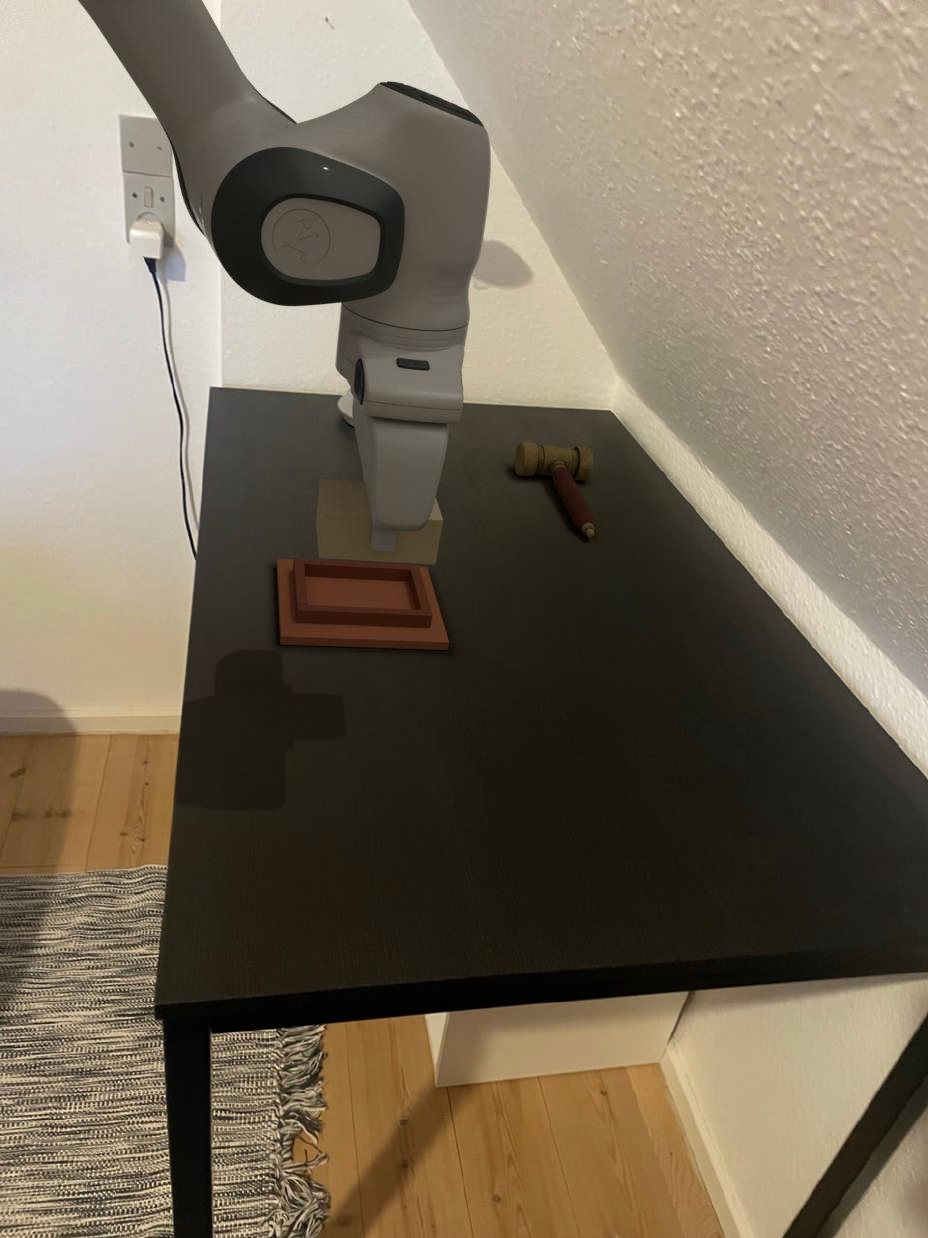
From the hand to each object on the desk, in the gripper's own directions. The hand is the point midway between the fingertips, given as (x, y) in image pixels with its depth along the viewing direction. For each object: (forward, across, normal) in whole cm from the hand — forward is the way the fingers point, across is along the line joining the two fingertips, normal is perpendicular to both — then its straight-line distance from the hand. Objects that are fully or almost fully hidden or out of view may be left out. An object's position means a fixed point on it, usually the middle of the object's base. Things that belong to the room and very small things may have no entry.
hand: (376, 524), depth 74 cm
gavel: (+18, -42, +31) cm, 55 cm away
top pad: (+2, 0, 0) cm, 2 cm away
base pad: (+17, -15, +2) cm, 23 cm away
